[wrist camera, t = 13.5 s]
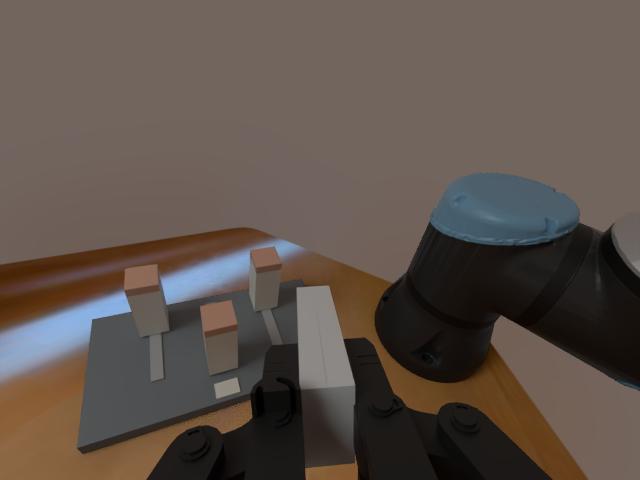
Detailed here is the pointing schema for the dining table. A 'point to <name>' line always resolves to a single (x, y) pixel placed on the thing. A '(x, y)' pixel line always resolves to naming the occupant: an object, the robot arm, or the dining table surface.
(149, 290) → the white brown-topped block
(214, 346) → the switch
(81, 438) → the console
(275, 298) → the switch
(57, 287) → the dining table surface
